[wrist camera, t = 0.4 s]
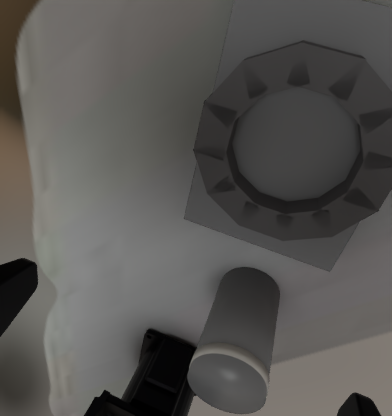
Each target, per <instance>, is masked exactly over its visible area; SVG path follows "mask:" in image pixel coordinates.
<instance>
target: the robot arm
mask: <svg viewBox="0 0 392 416" xmlns="http://www.w3.org/2000/svg"><path fill="white" fill-rule="evenodd" d="M37 285H38V275H37V265H36V263H35V262H33V261H30V260H28V259H25V258H21V259H17V260H14V261H11V262H8V263H5V264H2V265H0V337H1V335H2V334H3V333H4V332H5V330H6V329H7V328H8V326H9V325H10V324H11V322H12V321H13V320H14V318H15V317H16V316H17V314H18V313H19V312H20V310H21V309H22V308H23V306H24V305H25V304H26V302H27V301H28V300H29V298H30V297H31V296H32V294H33V293H34V291H35V290H36V288H37ZM195 351H196V349H195V348H192V347H190V346H188V345H185V344H183V343H181V342H178V341H176V340H174V339H171V338H169V337H166V336H164V335H162V334H159V333H157V332H155V331H152V330H147V331H146V333H145V335H144V340H143V345H142V350H141V355H140V360H139V365H138V367H137V369H136V371H135V373H134V375H133V377H132V379H131V381H130V383H129V385H128V387H127V389H126V390H125V392H124V394H123V396H122V398H121V399H119V398H117V397H115V396H113V395H111V394H110V392H108V391H106V390H104V391H103V393H102V394H101V396H100V397H95V398H94V400H93V401H92V403H91V405H90V407H89V408H88V410H87V412H86V413H85V415H84V416H187V415H188V412H189V409H190V406H191V403H192V400H193V397H194V396H196V394H195V393H194V392H193V390H192V389H191V387H190V385H189V383H188V379H187V374H188V371H189V366H190V363H191V360H192V357H193V355H194V353H195ZM337 416H381V415H380V413H379V411H378V409H377V407H376V406H375V404H374V402H373V401H372V400H371V399H370V398H368V397H366V396H363V395H361V394H359V393H352V394H351V395H350V396H349V397H348V399H347V400H346V401H345V402H344V404H343V405H342V406H341V407H340V409H339V411H338V414H337Z"/></svg>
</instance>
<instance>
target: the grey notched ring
mask: <svg viewBox="0 0 392 416" xmlns="http://www.w3.org/2000/svg"><path fill="white" fill-rule="evenodd" d="M193 150H194V153H195V156H196V160H197V164H196V168H195V172H194V177H193V181H192V185H191V190H190V194H189V198H188V203H187V207H186V211H185V216H184V219H186V220H189V221H191V222H194V223H197V224H200V225H202V226H205V227H208V228H211V229H213V230H216V231H219V232H222V233H224V234H227V235H230V236H233V237H235V238H238V239H241V240H244V241H246V242H249V243H252V244H255V245H257V246H260V247H263V248H266V249H268V250H271V251H274V252H277V253H279V254H282V255H285V256H288V257H290V258H293V259H296V260H299V261H301V262H304V263H307V264H310V265H312V266H315V267H318V268H321V269H323V270H326V271H329V272H330V271H331V269H332V268H333V266H334V264H335V262H336V261H337V259H338V257H339V256H340V254H341V252H342V251H343V249H344V247H345V246H346V244H347V242H348V240H349V239H350V237H351V235H352V234H353V232H354V230H355V229H356V227H357V225H358V224H359V222H360V221H361V220H363V219H365V218H366V217H368V216H370V215H372V214H374V213H375V212H378V211H379V208H380V207H381V205H382V204H383V202H384V200H385V199H386V197H387V195H388V194H389V192H390V191H391V189H392V7H388V6H384V5H380V4H375V3H371V2H367V1H363V0H234V3H233V7H232V12H231V16H230V20H229V25H228V29H227V33H226V38H225V42H224V46H223V51H222V55H221V59H220V64H219V68H218V72H217V77H216V81H215V85H214V90H213V93H212V94H211V95H210V96H209V98H208V99H207V100H205V101H204V105H203V110H202V115H201V119H200V124H199V128H198V133H197V137H196V142H195V146H194V149H193Z"/></svg>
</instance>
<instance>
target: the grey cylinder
mask: <svg viewBox="0 0 392 416" xmlns="http://www.w3.org/2000/svg"><path fill="white" fill-rule="evenodd" d="M279 299H280V291H279V288H278V286H277V284H276V282H275V281H274V280H273V279H272V278H271V277H270V276H269V275H267V274H266V273H264V272H262V271H260V270H257V269H254V268H247V267H242V268H236V269H233V270H231V271H229V272H227V273H226V274H225V275H224V277H223V278H222V280H221V283H220V286H219V289H218V291H217V294H216V297H215V300H214V302H213V305H212V308H211V311H210V313H209V316H208V319H207V321H206V324H205V327H204V330H203V332H202V335H201V338H200V341H199V343H198V346H197V349H196V351H195V353H194V355H193V357H192V360H191V363H190V366H189V371H188V374H187V379H188V383H189V385H190V387H191V389H192V390H193V392H194V393H195V394H196V395H197V396H198V397H199V398H200V399H202V400H203V401H204V402H206V403H208V404H209V405H211V406H213V407H215V408H217V409H220V410H223V411H225V412H229V413H235V414H249V413H253V412H256V411H258V410H260V409H261V408H262V407H263V406H264V404H265V401H266V396H267V393H268V387H269V373H270V365H271V358H272V351H273V343H274V336H275V329H276V321H277V314H278V307H279Z"/></svg>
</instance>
